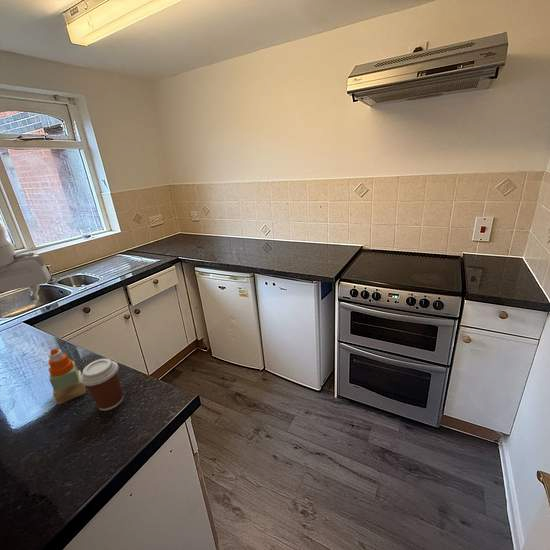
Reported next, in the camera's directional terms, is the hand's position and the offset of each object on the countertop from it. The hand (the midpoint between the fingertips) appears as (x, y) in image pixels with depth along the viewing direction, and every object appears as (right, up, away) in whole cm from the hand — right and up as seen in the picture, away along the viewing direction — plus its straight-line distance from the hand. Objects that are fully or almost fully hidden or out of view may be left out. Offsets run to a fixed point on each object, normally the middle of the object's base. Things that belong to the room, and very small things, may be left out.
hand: (16, 304), depth 85 cm
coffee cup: (+28, -27, -2) cm, 39 cm away
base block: (+14, -26, +3) cm, 30 cm away
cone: (+13, -19, 0) cm, 23 cm away
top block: (+13, -23, +2) cm, 26 cm away
